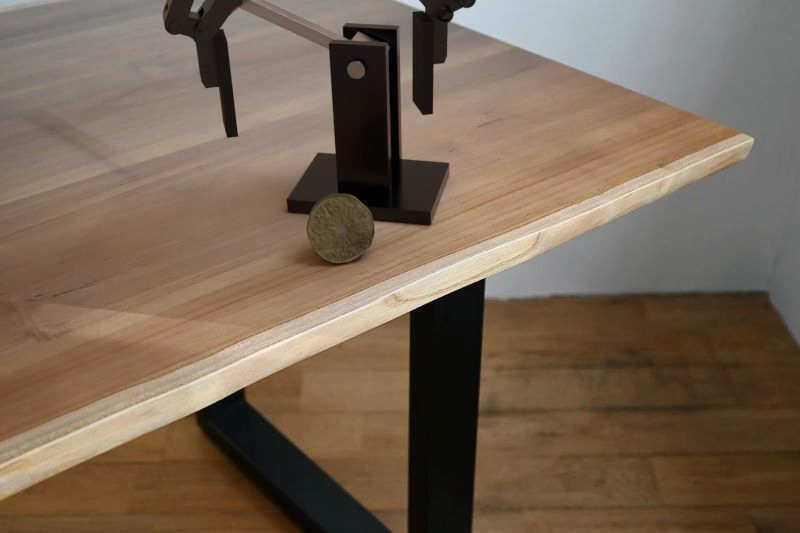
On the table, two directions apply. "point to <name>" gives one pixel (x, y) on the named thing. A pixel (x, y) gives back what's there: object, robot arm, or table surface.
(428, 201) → the bracket
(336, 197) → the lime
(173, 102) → the table surface
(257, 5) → the lever
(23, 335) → the table surface
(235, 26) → the table surface
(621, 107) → the table surface
